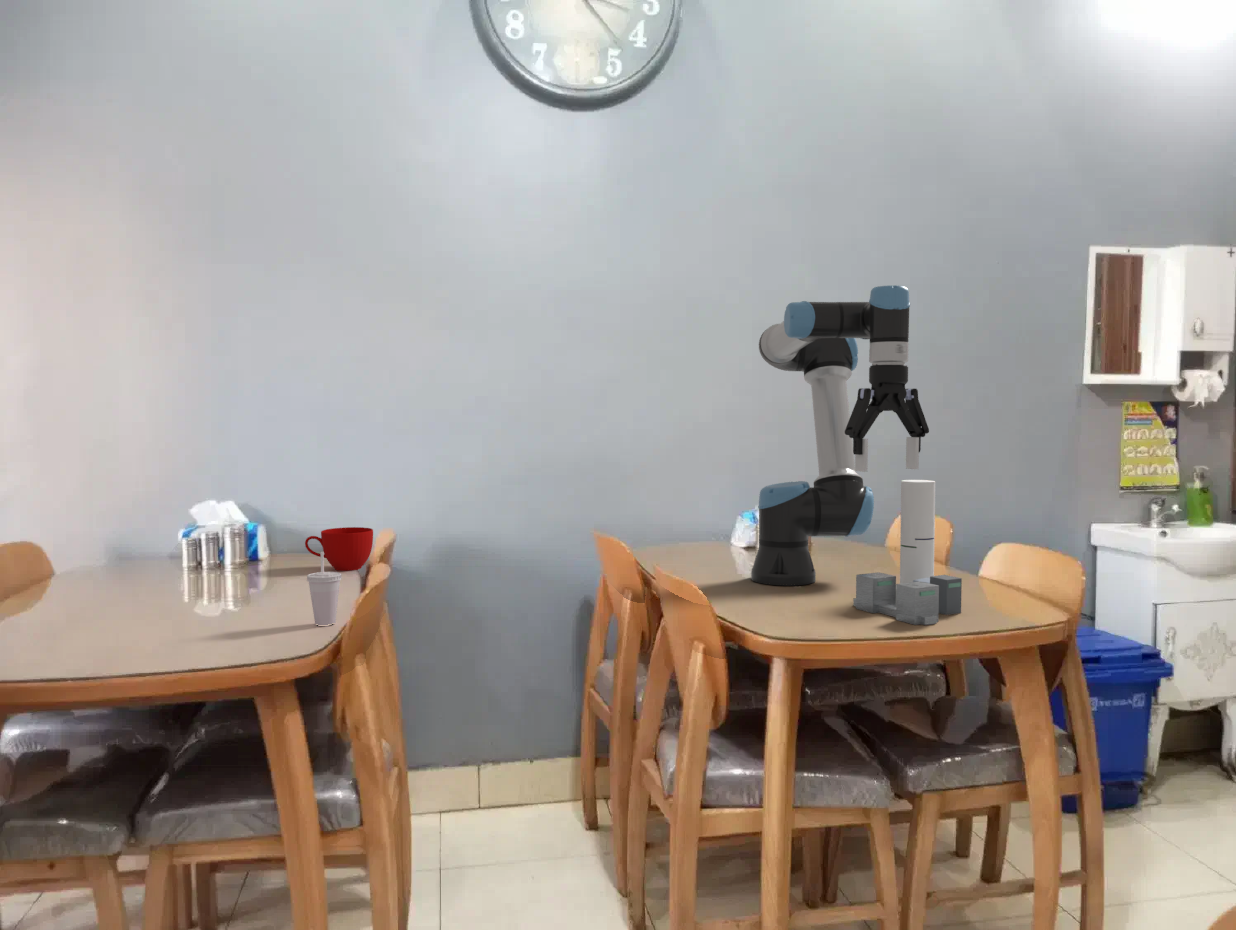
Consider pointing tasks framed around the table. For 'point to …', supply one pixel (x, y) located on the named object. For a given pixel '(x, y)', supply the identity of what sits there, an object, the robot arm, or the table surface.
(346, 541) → the ceramic cup
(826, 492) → the robot arm
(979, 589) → the table surface
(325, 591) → the smoothie
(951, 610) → the block
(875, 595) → the grey stepped block assembly
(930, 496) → the cylindrical container
